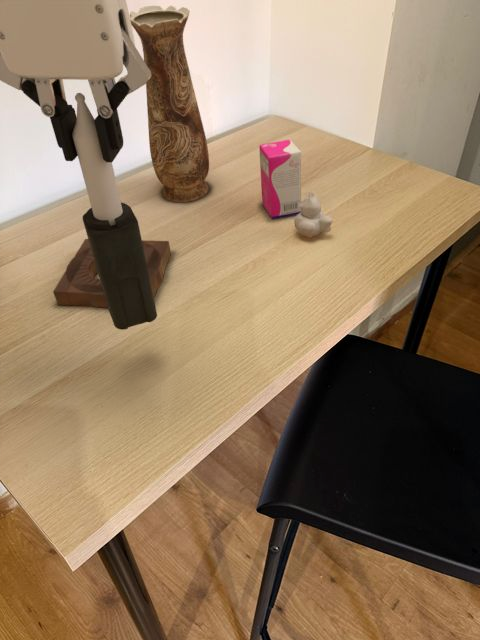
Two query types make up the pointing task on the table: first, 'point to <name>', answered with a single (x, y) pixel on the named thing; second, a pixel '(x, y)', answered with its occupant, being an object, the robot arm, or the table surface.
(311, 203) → the white animal figurine
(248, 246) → the table surface
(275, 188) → the supplement box
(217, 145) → the table surface
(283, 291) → the table surface
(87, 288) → the hole plate
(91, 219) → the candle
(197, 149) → the vase
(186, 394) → the table surface
